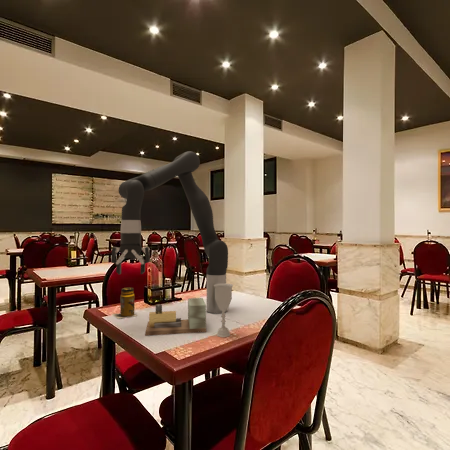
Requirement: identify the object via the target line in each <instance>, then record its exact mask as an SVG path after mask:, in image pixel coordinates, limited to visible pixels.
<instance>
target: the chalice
mask: <svg viewBox="0 0 450 450" xmlns="http://www.w3.org/2000/svg"><path fill="white" fill-rule="evenodd" d="M233 286H234V284H231V283H226V284H215V285H214V287H215V300H216V303H217V305H218V307H219V310H221V311H222V313H221V321H220V322H221V327H219V328H218V331H217V333H216V336H217V337H220V338H228V337H230V336H231V333H230V331H229V329H228V327H226V325H225V324H226V322H227V321H226V312H225V311H226V310H227V311H228V309H229V307H230V305H231V303H232V298H233V296H232V295H233V291H232V290H233V289H232V288H233Z"/></svg>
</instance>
